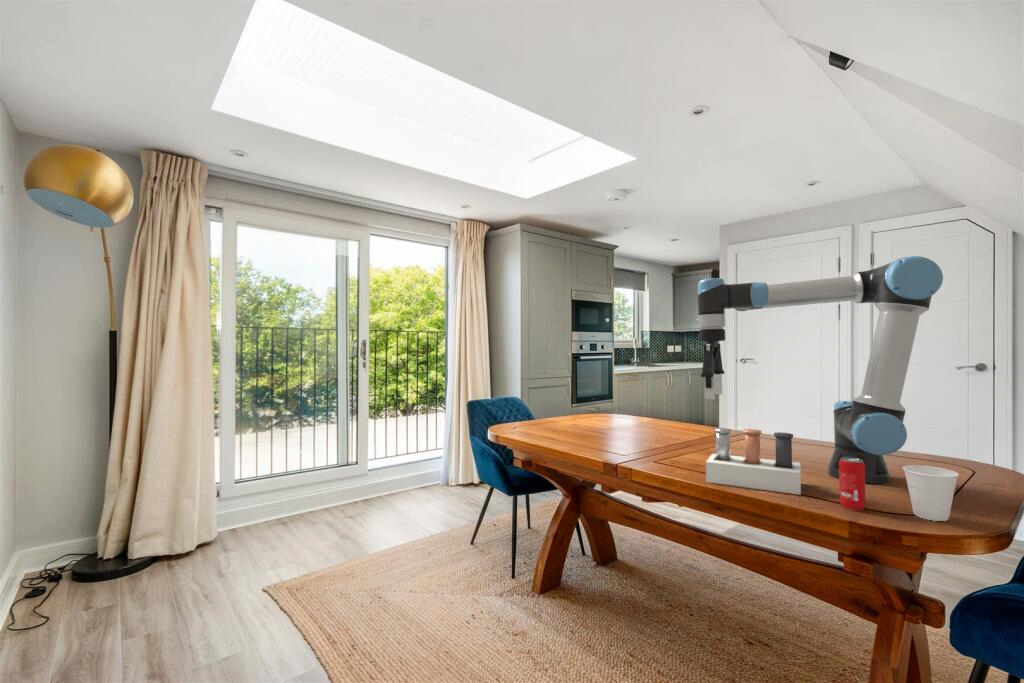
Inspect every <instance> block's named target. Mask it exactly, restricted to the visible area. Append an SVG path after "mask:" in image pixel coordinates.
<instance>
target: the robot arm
mask: <svg viewBox="0 0 1024 683" xmlns="http://www.w3.org/2000/svg"><path fill="white" fill-rule="evenodd" d="M943 275H944V274H943V272H942V269H941V267H940V266H939V265H938V263H936V262H935V261H934V260H932V259H930V258H928V257H925V256H920V255H919V256H918V255H917V256H916V255H911V256H905V257H904V256H903V257H900V258H897V259H896V260H894V261H892V262H889V263H888V264H884V265H882V266H879V267H875V268H872V269H869V270H864V271H856V272H854V273H852V275H850V276H849V275H848V276H839V277H828V278H820V279H812V280H802V281H801V280H800V281H792V282H784V283H783V282H782V283H775V284H773V283H772V284H767V283H766V282H761V281H760V282H758V281H757V282H756V281H754V282H746V283H743V282H742V283H733V284H730V283H729V284H727V283H725V282H724V281H725V280H724V279H723V278H721V277H717V278H716V277H711V278H704V279H701V280H699V281H698V283H697V304H698V306H697V308H698V318H697V319H696V321H697V322H698V328H700V329H699V330H698V338H699V339H698V340H699V341H700V342H706V344H705V343H704V344H703V361H702V372H701V374H700V378H703V382H704V383H703V391H704V393H703V394H704V397H703V398H704V400H715V399H716V398H715V395H718V396H719V395H723V375H725V371H724V369H723V361H722V351H721V344H720V343H718V342H722V341H723V342H725V341H726V329H725V327H726V314H725V312H726V311H725V309H727V310H728V309H734V310H736V311H737V312H747V311H750V310H760V309H761V310H762V309H771V308H772V309H773V308H785V307H794V306H795V307H796V306H806V305H807V306H808V305H817V304H818V305H819V304H828V303H829V304H830V303H840V302H842V303H843V302H852V301H853V302H854V303H856V304H869V303H872V304H874V306H875V308H876V309H877V310H878V312H879V313H878V316H877V322H876V326H875V330H874V335H873V341H872V344H871V350H870V353H869V358H868V363H867V367H866V371H865V377H864V381H863V385H862V390H861V394H860V395H859V396H856V397H855V398H853V400H848V401H847V400H846V401H845V400H839V401H835V403H834V406H833V426H834V427H833V429H834V432H833V434H834V450H833V453H832V455H831V458H830V460H829V463H828V466H827V467H828V468H827V469H828V470H827V471H828V475H829V476H832V477H834V478H836V479H839V461H840V458H842V457H850V458H857V459H861V460H863V463H864V464H865V484H886V483H889V482H891V474H890V471H889V467H888V465H887V463H886V461H885V458H884V456H885V455H886V456H887V455H891V454H893V453H896V452H898V451H899V450H901V449H902V448H903V446H904V445H905V443H906V442H907V439H908V430H907V427H906V426H905V424H904V419H905V414H906V409H905V407H904V406H903V404H902V403H901V400H902V395H903V390H904V386H905V382H906V377H907V372H908V368H909V363H910V359H911V356H912V352H913V347H914V342H915V338H916V333H917V327H918V324H919V320H920V317H921V315H923V314H925V313H926V312H928V311H929V310H930V306H931V301H932V297H933V296H934V295H935V294H936V293H937V292H939V290H940V288H941V287H942V285H943V281H944V276H943Z"/></svg>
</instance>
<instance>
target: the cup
mask: <svg viewBox="0 0 1024 683" xmlns="http://www.w3.org/2000/svg"><path fill="white" fill-rule="evenodd" d="M902 470H904V476H905V479H906V484H907V488H908V493H909V498H910V502H911V507H912V508H911V509H912V512H913V514H914V515H915V516H916V517H917V516H918V518H919V517H920V519H922V518H923V519H922V520H926V519H927V521H930V520H932V521H931V522H937V521H944V522H946V521H949V518H950V514H951V509H952V504H953V499H954V495H955V491H956V487H957V482H958V478H959V476H960V474H959V473H958V472H956V471H955V470H951V469H947V468H943V467H936V466H929V465H922V464H921V465H920V464H919V465H918V464H910V465H903V467H902Z"/></svg>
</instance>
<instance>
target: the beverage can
mask: <svg viewBox="0 0 1024 683" xmlns="http://www.w3.org/2000/svg"><path fill="white" fill-rule="evenodd" d="M838 480H839V482H838V483H839V486H838V487H839V502H840V505H841V508H844V509H846V510H850V511H857V512H859V511H864V508H865V506H866V483H865V464H864V463H863V460H861V459H857V458H850V457H842V458H840V461H839V478H838Z"/></svg>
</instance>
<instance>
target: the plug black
mask: <svg viewBox="0 0 1024 683" xmlns="http://www.w3.org/2000/svg"><path fill="white" fill-rule="evenodd" d="M773 436H774V437H775V460H776V467H781V468H790V469H792V462H793V447H792V446H793V444H792V440H793V439H792V438H794V434H792V433H789V432H774V433H773Z"/></svg>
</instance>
